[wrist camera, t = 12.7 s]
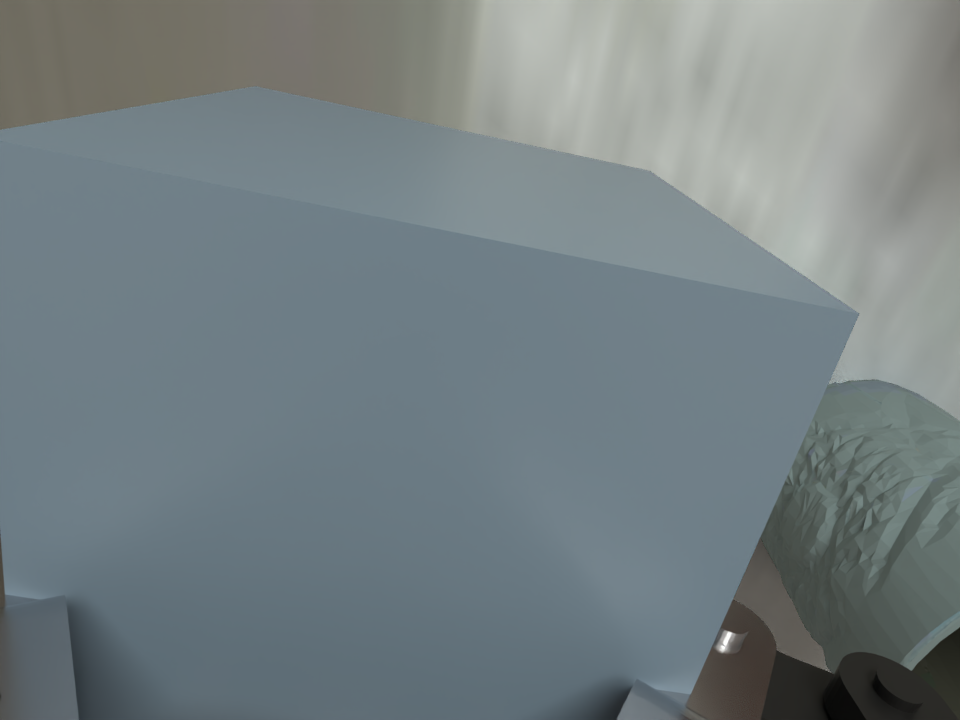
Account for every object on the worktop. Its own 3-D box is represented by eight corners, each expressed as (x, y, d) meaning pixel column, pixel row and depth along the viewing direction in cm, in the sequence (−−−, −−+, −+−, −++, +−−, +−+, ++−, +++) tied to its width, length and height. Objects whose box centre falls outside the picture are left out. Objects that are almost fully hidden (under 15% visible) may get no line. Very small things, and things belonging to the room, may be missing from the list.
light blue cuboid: (216, 591, 16) (32, 982, 9) (255, 86, 12) (-28, 134, 5) (513, 636, 17) (540, 1032, 10) (650, 170, 12) (858, 313, 6)
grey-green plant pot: (690, 430, 29) (824, 665, 18) (933, 313, 27) (1244, 499, 16) (776, 593, 33) (929, 869, 22) (995, 500, 31) (1282, 753, 20)
